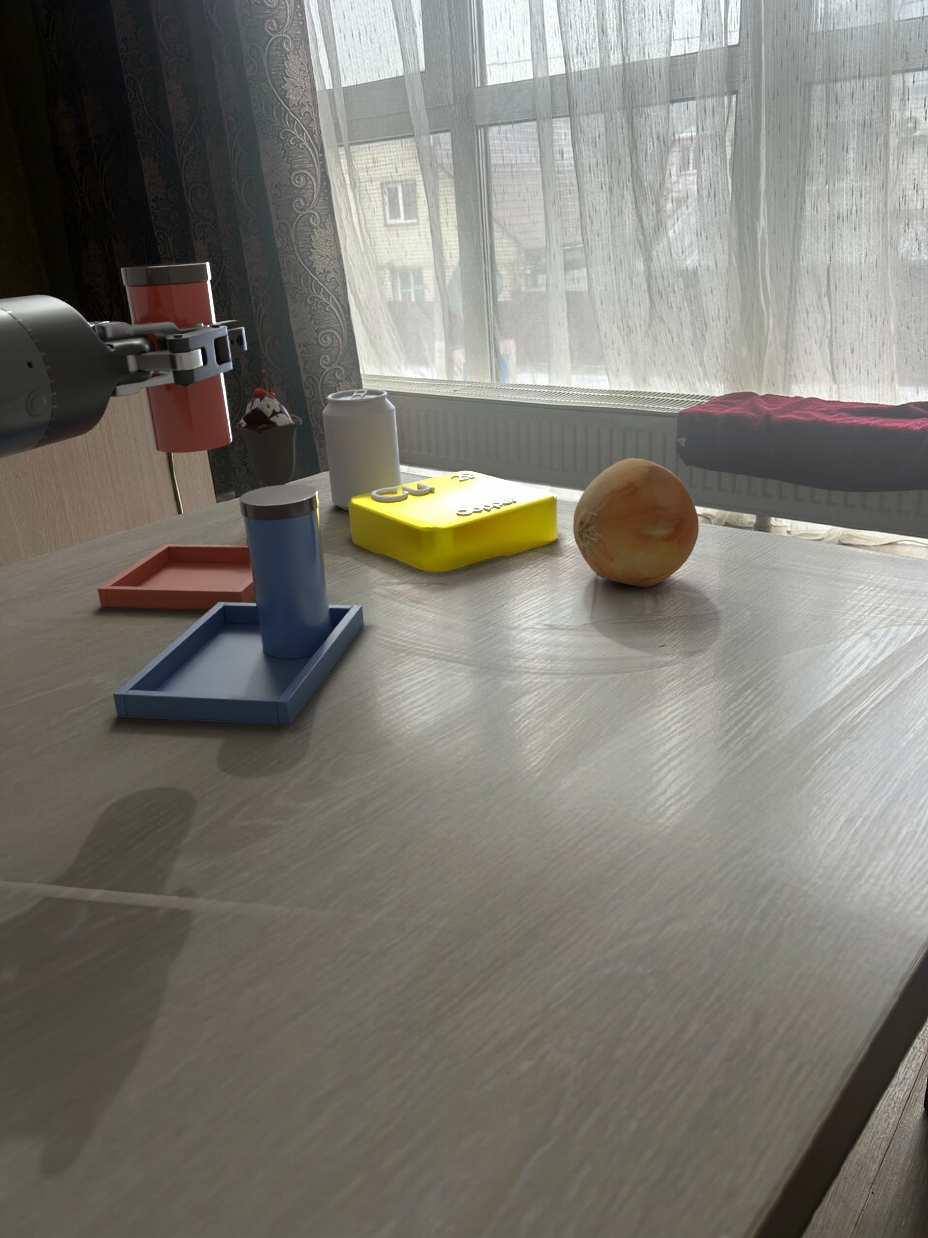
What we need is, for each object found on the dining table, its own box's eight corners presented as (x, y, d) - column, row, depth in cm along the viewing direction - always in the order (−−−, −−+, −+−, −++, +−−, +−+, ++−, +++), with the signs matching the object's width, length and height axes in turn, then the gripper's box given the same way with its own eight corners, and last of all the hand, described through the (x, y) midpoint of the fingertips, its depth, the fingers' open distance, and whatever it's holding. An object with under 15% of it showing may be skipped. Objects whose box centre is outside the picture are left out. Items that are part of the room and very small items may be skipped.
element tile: (434, 581, 81) (430, 526, 79) (344, 542, 92) (338, 493, 91) (567, 540, 89) (566, 489, 87) (469, 509, 100) (466, 464, 99)
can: (322, 514, 101) (309, 399, 97) (347, 495, 108) (335, 386, 104) (390, 516, 100) (380, 398, 95) (411, 496, 106) (402, 385, 102)
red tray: (102, 612, 78) (97, 588, 78) (168, 565, 89) (164, 543, 88) (244, 616, 76) (240, 591, 75) (295, 567, 86) (293, 545, 85)
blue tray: (118, 724, 60) (112, 694, 60) (222, 627, 74) (218, 601, 73) (291, 733, 58) (286, 702, 57) (365, 631, 72) (362, 605, 71)
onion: (547, 585, 79) (545, 464, 75) (626, 554, 85) (627, 441, 81) (642, 615, 72) (644, 484, 68) (720, 579, 78) (727, 457, 74)
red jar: (137, 453, 61) (103, 269, 57) (175, 435, 66) (147, 264, 62) (213, 453, 60) (185, 265, 56) (247, 435, 65) (223, 260, 61)
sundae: (291, 505, 105) (273, 365, 100) (324, 517, 101) (307, 370, 95) (237, 519, 102) (215, 374, 96) (269, 532, 97) (247, 379, 91)
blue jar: (249, 658, 67) (226, 505, 63) (277, 628, 72) (257, 484, 68) (320, 661, 66) (301, 505, 62) (344, 631, 71) (327, 484, 66)
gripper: (82, 300, 44) (290, 273, 58) (-127, 304, 50) (109, 278, 64) (113, 461, 47) (304, 398, 61) (-88, 447, 53) (129, 393, 67)
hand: (203, 337), depth 63 cm, fingers closed on red jar, 5 cm apart
